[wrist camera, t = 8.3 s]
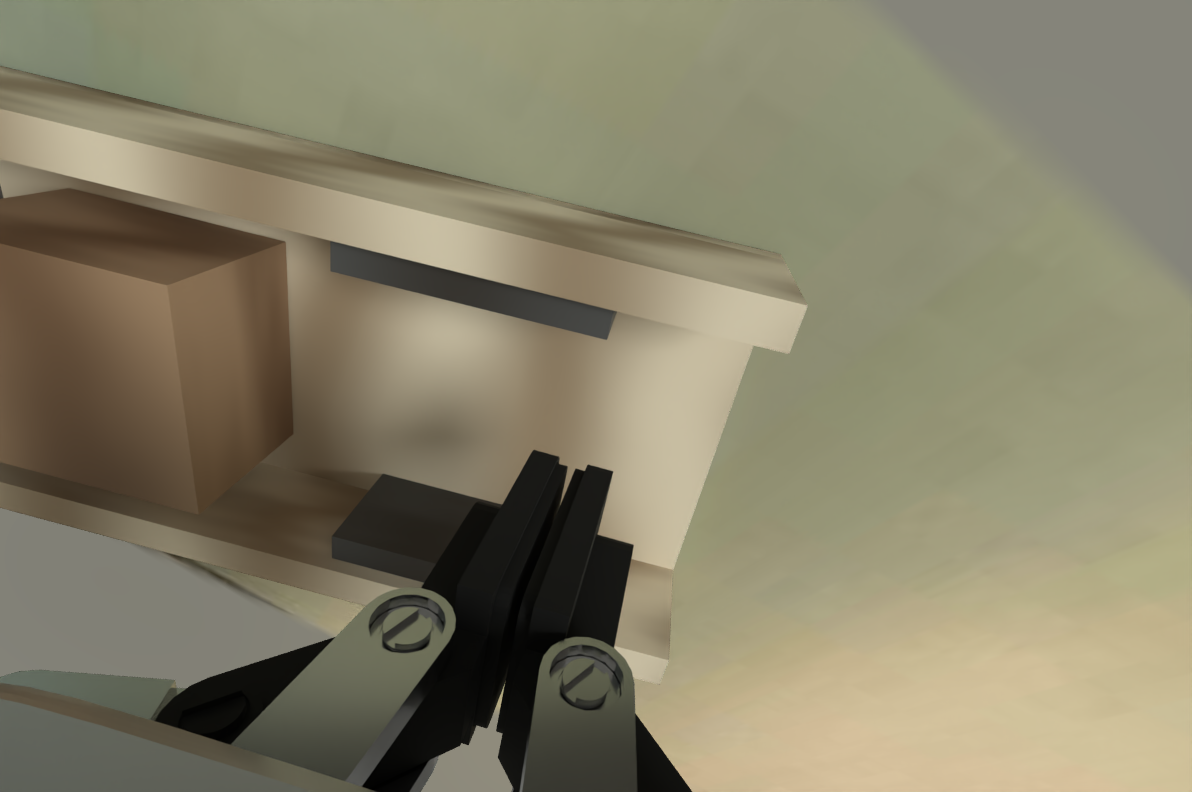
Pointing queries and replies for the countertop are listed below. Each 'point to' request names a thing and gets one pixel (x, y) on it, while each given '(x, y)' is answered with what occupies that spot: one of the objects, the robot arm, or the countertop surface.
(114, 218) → the block
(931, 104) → the countertop surface
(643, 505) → the chute
